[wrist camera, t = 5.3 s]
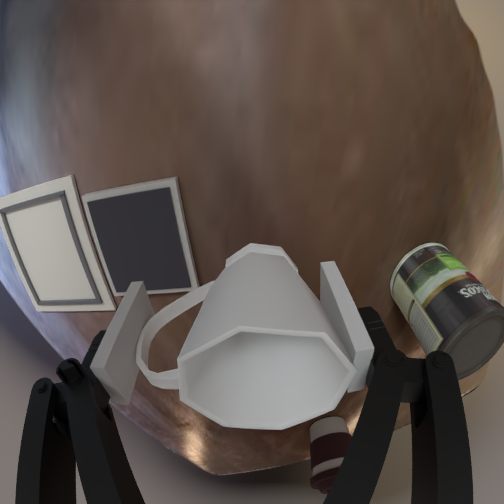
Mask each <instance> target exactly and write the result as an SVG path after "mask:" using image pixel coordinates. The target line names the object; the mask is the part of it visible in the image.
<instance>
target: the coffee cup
mask: <svg viewBox="0 0 504 504" xmlns="http://www.w3.org/2000/svg"><path fill="white" fill-rule="evenodd" d="M310 438H311V444H310V455H311V469H312V472H313V477H312V478H311V479H310V484H311V487H312V488H314V489H319V491H320V492H321V493H323V494H328V492H329V490H330V488H331V486H332V484H333V482H334V480H335V477H336V475H337V473H338V471H339V468H340V466H341V464H342V461H343V459H344V456H345V454H346V452H347V449H348V446H349V444H350V441H351V439H352V436H351V435H350V434H349V431H348V428H347V424H346V422H345V420H344V419H343V418H341V417H337V416H332V417H326V418H323V419H320V420H318V421H316V422H314V423H313V424H312V425H311V427H310Z"/></svg>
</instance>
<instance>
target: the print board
mask: <svg viewBox="0 0 504 504" xmlns="http://www.w3.org/2000/svg"><path fill="white" fill-rule="evenodd" d="M0 226H1V229H2V232H3V235H4V237H5V240H6V243H7V246H8V248H9V251H10V253H11V256H12V258H13V261H14V263H15V265H16V268H17V270H18V272H19V275H20V277H21V279H22V281H23V284H24V286H25V288H26V290H27V292H28V294H29V296H30V298H31V300H32V302H33V304H34V306H35V308H36V310H37V311H105V310H116V308H117V307H116V304H115V302H114V300H113V297H112V295H111V292H110V289H109V287H108V284H107V282H106V279H105V276H104V274H103V271H102V268H101V265H100V263H99V260H98V257H97V254H96V251H95V248H94V245H93V242H92V239H91V236H90V233H89V230H88V226H87V223H86V220H85V216H84V213H83V209H82V206H81V202H80V198H79V194H78V191H77V187H76V183H75V179H74V174H73V175H69V176H66V177H62V178H59V179H55V180H52V181H49V182H45V183H42V184H39V185H36V186H33V187H30V188H27V189H24V190H21V191H18V192H15V193H12V194H9V195H6V196H3V197H1V198H0Z"/></svg>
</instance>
